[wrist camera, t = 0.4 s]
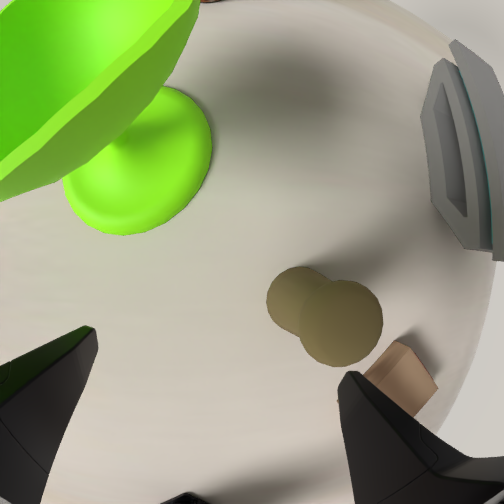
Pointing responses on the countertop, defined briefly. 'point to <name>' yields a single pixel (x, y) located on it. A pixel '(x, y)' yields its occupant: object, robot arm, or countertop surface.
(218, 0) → the sauce bottle
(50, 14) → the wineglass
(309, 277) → the olive tall rounded piece
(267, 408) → the countertop surface
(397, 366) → the tan flat block
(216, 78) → the countertop surface
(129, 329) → the countertop surface
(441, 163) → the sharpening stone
